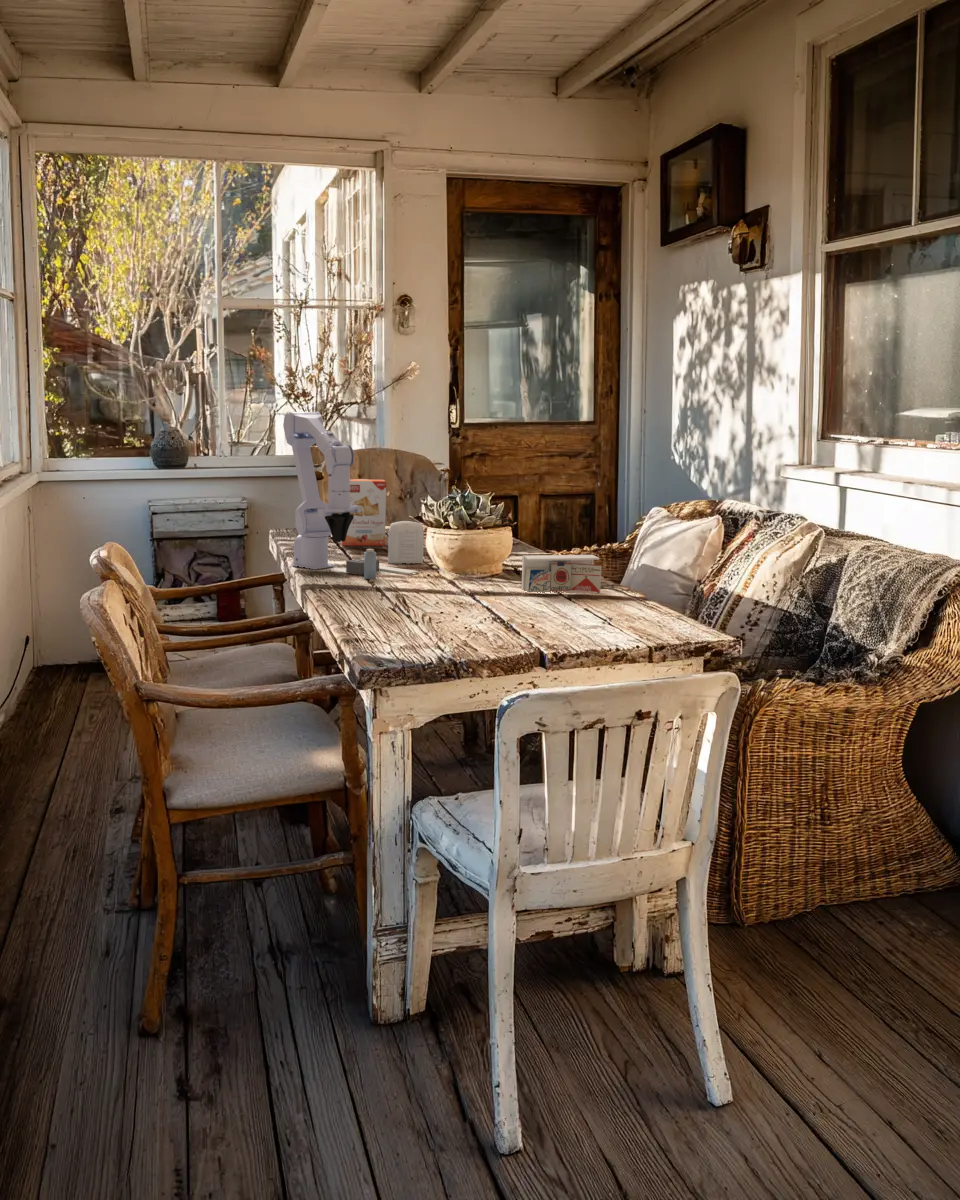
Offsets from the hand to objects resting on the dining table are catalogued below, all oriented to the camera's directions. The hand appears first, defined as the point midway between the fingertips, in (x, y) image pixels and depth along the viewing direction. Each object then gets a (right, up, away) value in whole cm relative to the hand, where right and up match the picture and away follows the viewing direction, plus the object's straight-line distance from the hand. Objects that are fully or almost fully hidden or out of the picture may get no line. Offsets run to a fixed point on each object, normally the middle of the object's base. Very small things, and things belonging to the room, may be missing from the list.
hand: (339, 541), depth 316 cm
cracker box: (0, +2, +60) cm, 60 cm away
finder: (+5, -8, +9) cm, 13 cm away
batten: (+13, -8, +11) cm, 19 cm away
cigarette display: (+59, -14, -15) cm, 62 cm away
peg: (+8, -10, -1) cm, 13 cm away
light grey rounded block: (+16, -5, +25) cm, 31 cm away
